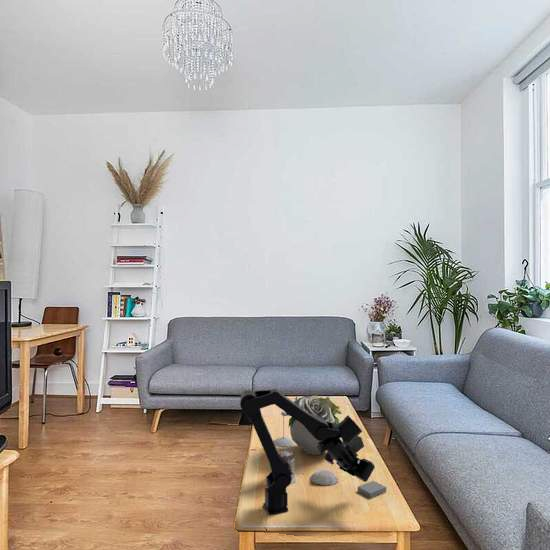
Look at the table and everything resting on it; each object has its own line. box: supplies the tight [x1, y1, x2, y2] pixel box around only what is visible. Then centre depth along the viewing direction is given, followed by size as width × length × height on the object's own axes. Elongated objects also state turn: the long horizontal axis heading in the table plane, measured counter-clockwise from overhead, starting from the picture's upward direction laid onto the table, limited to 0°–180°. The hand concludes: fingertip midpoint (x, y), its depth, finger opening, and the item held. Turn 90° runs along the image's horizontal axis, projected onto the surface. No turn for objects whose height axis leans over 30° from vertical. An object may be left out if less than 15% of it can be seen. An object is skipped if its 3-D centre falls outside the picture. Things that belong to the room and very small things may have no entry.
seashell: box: [310, 468, 339, 486], centre depth 156 cm, size 10×6×10 cm
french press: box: [273, 411, 297, 485], centre depth 156 cm, size 10×12×25 cm
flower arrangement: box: [284, 394, 342, 456], centre depth 183 cm, size 25×25×24 cm
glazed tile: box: [357, 480, 387, 499], centre depth 148 cm, size 2×6×8 cm
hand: (360, 475), depth 145 cm, fingers closed
